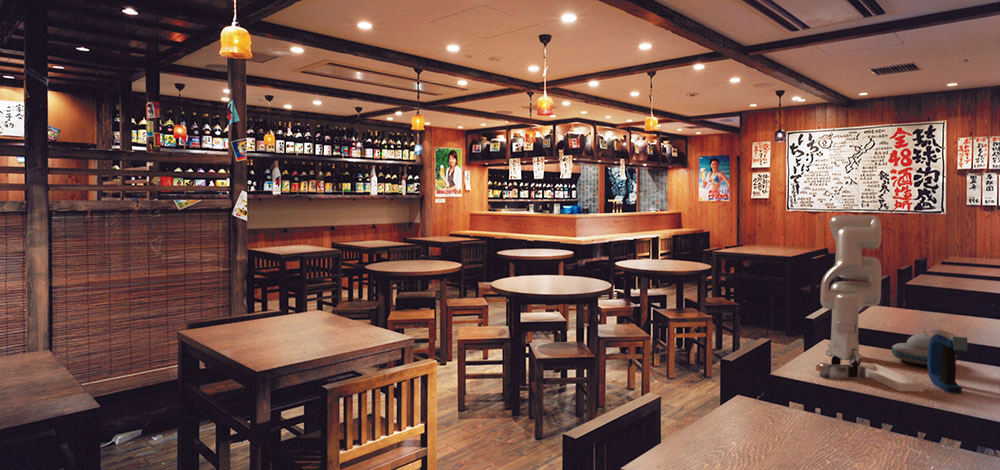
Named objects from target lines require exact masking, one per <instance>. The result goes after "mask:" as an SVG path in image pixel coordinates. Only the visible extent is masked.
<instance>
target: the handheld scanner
mask: <svg viewBox="0 0 1000 470" xmlns="http://www.w3.org/2000/svg"><path fill="white" fill-rule="evenodd" d="M931 333H932V335H931V339H930V341H929V347H928V361H927V365H926V366H927V373H928V377H929V379H930V381H931V382H932V384H933V385H934V386H936V387H937V388H939V389H941V390H942V391H945V392H946V393H948V394H950V393H952V394H962V386H961V385H959V384H958V383H957V380H956V374H957V373H956V371H957V366H956V365H957V363H956V362H955V359H956V358H955V356H956V355H957V352H968V337H965V336H962V337H961V336H958V335H956V334H954V333H951V332H948V331H946V330H944V329H937V328H933V330H932V331H931Z"/></svg>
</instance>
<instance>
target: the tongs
mask: <svg viewBox="0 0 1000 470" xmlns="http://www.w3.org/2000/svg"><path fill="white" fill-rule="evenodd" d="M848 366H850V365H849V364H840V365H831V363H825V362H820V363H819V364H815V371H816V372H819V377H820V378H824V379H866V378H867V376H866V367H864V366H862V365H859V367H858V377H848Z"/></svg>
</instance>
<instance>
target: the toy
mask: <svg viewBox="0 0 1000 470" xmlns="http://www.w3.org/2000/svg"><path fill="white" fill-rule="evenodd" d="M925 328H926V327H925V326H924V327H923V332H922V333H917V334H914V335H911V336H910V337H908V338H907V341H906V342H898V343H895V344H892V346H891V349H892V350H891V354H892V356H894V357H895V358H897V359H899V360H902V361H905V362H909V363H913V364H919V365H924V366H925V365H926V366H927V361H928V347H929V341H930V339H931V337H932V335H929V334H927V333H926V329H925ZM957 357H958V355H957V354H956V356H955V363H956V362H957V359H956V358H957Z"/></svg>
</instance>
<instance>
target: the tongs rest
mask: <svg viewBox="0 0 1000 470" xmlns="http://www.w3.org/2000/svg"><path fill="white" fill-rule="evenodd" d="M860 365H862V366H864V367H866V378H869V379H872V380H873V381H875V382H878V383H880V384H882V385H884V386H887V387H889V388H891V389H893V390H895V391H896V392H924V391H925V383H923V382H920V381H918V380H916V379H913V378H912V377H908V376H906V375H904V374H902V373H899V372H896V371H894V370H892V369H890V368H887V367H884V366H882V365H879V364H877V363H861V364H860Z"/></svg>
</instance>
